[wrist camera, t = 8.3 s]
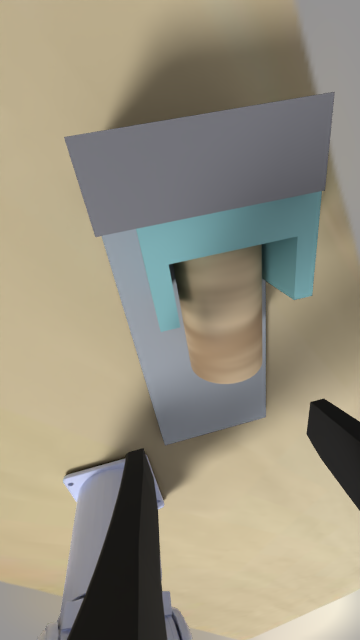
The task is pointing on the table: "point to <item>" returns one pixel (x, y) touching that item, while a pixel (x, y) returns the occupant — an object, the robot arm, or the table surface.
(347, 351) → the table surface
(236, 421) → the board
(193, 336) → the dowel
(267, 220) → the teal arch
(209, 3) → the table surface
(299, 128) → the backstop wall
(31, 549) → the table surface
